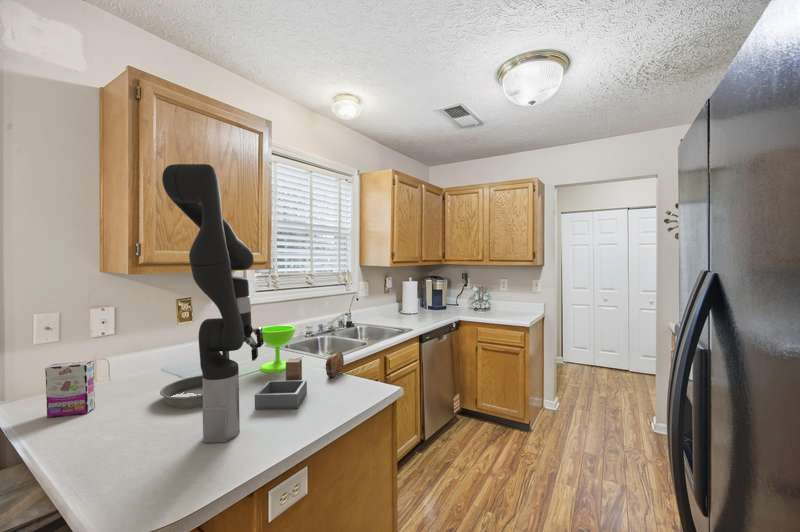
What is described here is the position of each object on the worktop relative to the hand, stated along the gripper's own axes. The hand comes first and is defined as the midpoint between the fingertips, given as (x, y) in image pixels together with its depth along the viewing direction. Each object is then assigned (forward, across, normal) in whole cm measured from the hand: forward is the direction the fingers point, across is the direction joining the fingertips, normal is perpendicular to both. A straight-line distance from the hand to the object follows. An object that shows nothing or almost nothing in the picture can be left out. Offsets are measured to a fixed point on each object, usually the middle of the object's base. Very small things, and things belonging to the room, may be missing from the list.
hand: (240, 360), depth 117 cm
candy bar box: (+18, -57, +5) cm, 60 cm away
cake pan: (+19, -22, +17) cm, 33 cm away
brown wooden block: (+19, +11, +25) cm, 33 cm away
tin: (+21, +25, +38) cm, 50 cm away
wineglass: (+21, -3, +50) cm, 54 cm away
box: (+18, +10, +9) cm, 23 cm away
